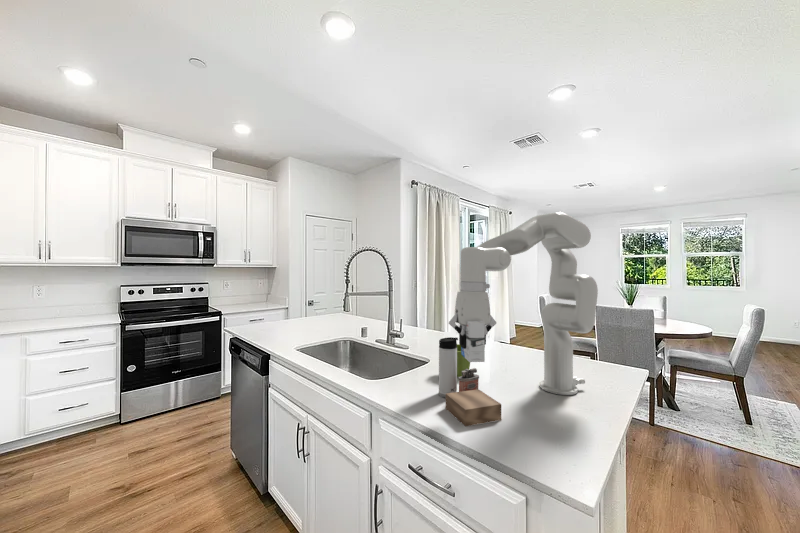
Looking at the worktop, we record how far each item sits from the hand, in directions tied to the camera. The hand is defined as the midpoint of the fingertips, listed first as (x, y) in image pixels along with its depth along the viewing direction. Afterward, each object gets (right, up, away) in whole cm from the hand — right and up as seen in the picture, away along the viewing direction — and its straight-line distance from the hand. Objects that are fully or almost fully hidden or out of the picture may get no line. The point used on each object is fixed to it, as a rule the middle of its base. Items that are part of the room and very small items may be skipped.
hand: (472, 346), depth 96 cm
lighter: (+1, -21, +11) cm, 24 cm away
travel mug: (-5, -21, +14) cm, 26 cm away
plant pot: (+3, -21, +36) cm, 41 cm away
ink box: (0, -4, 0) cm, 4 cm away
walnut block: (0, -21, 0) cm, 21 cm away
